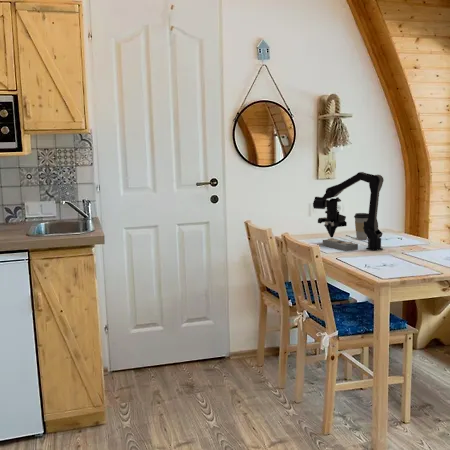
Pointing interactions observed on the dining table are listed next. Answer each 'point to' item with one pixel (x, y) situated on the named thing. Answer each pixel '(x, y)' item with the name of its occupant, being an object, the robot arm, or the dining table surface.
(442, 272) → the dining table surface
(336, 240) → the rocker far
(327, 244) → the rocker switch box
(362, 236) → the coffee cup
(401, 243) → the dining table surface
